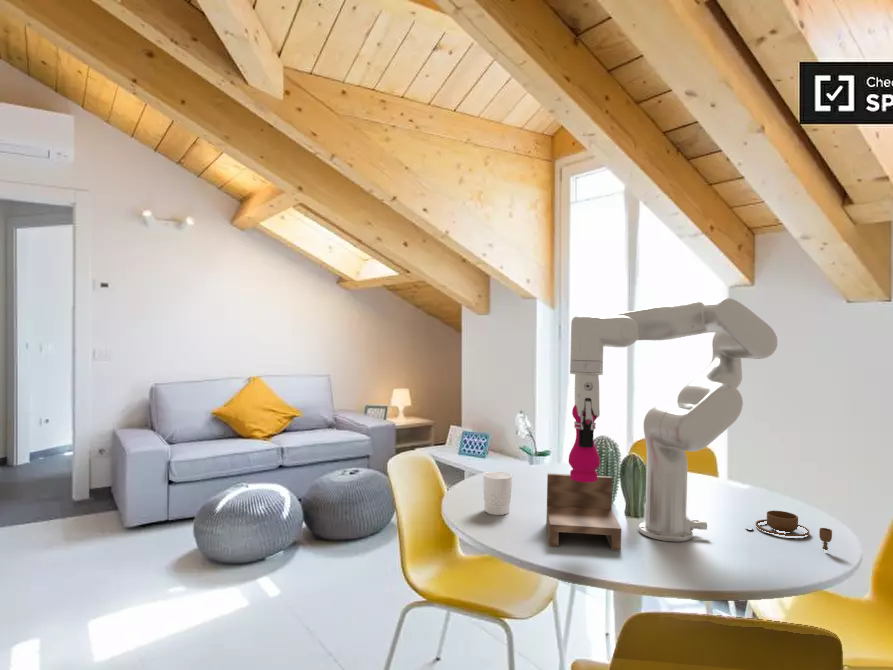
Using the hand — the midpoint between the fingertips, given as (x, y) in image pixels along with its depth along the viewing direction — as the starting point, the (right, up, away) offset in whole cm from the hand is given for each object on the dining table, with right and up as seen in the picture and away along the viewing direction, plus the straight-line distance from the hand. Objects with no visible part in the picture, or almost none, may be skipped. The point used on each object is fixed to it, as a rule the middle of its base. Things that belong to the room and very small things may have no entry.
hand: (584, 443), depth 140 cm
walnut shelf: (0, -23, +3) cm, 23 cm away
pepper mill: (0, -9, 0) cm, 9 cm away
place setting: (+51, -25, +6) cm, 57 cm away
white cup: (-19, -23, +22) cm, 37 cm away
